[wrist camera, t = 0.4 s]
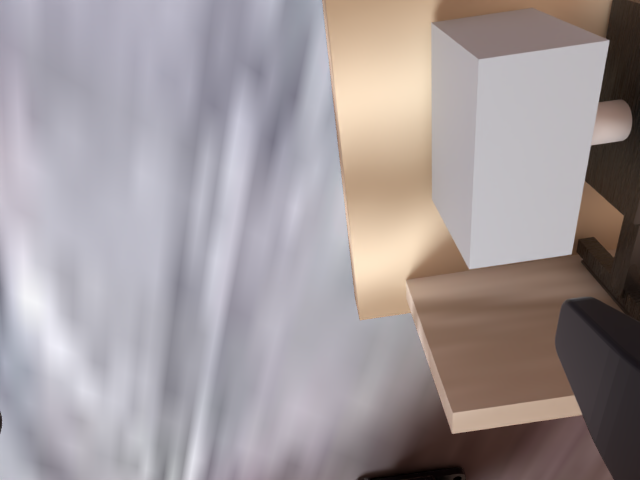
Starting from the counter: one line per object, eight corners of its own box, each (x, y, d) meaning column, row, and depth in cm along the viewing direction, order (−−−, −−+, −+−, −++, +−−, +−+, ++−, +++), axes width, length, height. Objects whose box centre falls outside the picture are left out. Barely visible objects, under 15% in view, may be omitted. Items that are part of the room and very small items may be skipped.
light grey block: (570, 179, 19) (639, 244, 15) (431, 199, 19) (469, 269, 15) (599, -3, 15) (696, 27, 12) (431, 22, 15) (478, 59, 12)
